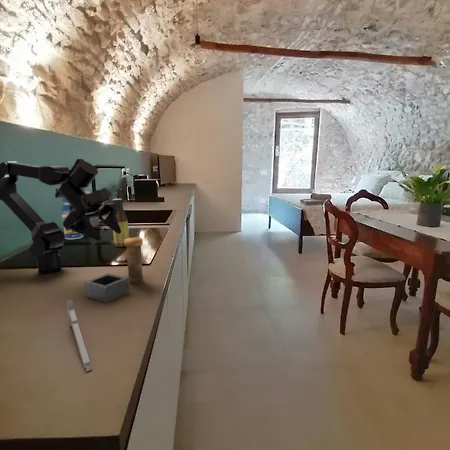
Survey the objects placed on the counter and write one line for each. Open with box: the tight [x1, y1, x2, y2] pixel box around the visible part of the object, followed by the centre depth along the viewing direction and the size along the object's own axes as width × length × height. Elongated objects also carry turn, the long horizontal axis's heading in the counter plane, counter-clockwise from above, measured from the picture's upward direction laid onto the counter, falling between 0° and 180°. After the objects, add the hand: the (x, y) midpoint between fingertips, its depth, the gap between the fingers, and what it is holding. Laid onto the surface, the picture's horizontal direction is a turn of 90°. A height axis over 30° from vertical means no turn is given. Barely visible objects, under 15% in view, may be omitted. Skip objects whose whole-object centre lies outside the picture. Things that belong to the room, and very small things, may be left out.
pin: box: [124, 237, 144, 285], centre depth 96 cm, size 5×5×13 cm
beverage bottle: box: [61, 197, 85, 240], centre depth 150 cm, size 8×8×20 cm
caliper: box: [66, 299, 92, 368], centre depth 64 cm, size 20×1×6 cm, turn 33°
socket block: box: [83, 272, 130, 303], centre depth 88 cm, size 8×8×4 cm
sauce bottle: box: [111, 198, 130, 248], centre depth 136 cm, size 7×6×20 cm
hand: (110, 236), depth 97 cm, fingers open, 9 cm apart
